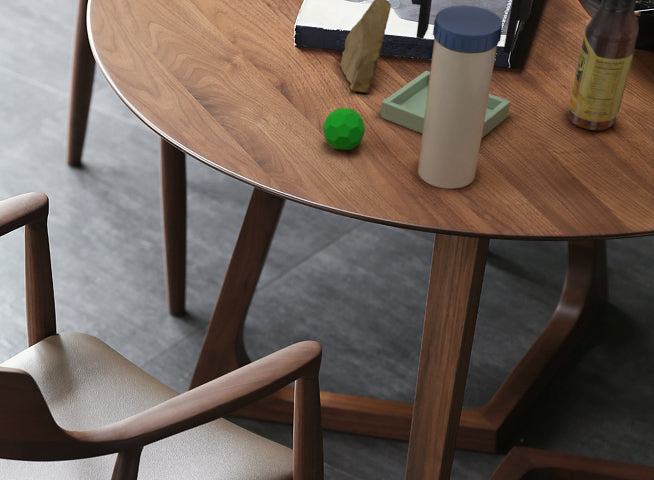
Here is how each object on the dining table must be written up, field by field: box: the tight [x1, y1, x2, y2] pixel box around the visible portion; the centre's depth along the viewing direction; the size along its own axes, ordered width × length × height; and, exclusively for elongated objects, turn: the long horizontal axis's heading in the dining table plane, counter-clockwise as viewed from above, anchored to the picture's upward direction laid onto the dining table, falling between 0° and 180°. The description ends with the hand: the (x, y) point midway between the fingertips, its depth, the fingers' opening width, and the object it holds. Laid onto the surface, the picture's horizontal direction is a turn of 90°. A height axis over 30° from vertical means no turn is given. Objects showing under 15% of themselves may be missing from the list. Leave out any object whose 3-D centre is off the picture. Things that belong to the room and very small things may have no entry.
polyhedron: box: [322, 107, 366, 151], centre depth 130 cm, size 5×5×5 cm
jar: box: [417, 38, 498, 190], centre depth 121 cm, size 7×7×19 cm
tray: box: [379, 70, 512, 139], centre depth 136 cm, size 13×11×2 cm
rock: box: [339, 0, 392, 94], centre depth 142 cm, size 11×9×10 cm
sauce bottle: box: [568, 0, 640, 132], centre depth 130 cm, size 6×6×20 cm
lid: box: [432, 5, 503, 52], centre depth 115 cm, size 7×7×2 cm
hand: (465, 39), depth 116 cm, fingers open, 9 cm apart
